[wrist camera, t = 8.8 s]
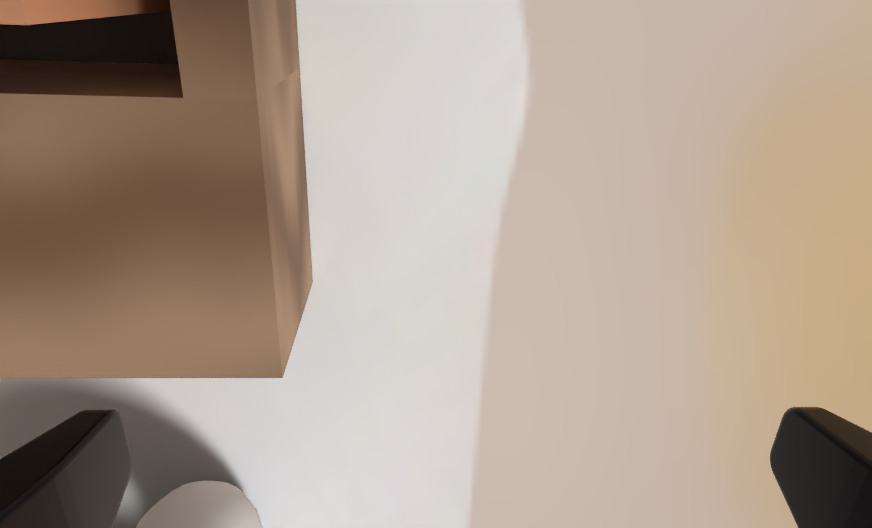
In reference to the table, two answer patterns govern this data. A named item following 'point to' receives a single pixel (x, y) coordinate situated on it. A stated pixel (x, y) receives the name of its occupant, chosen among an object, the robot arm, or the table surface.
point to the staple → (73, 10)
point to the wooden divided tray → (157, 205)
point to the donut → (202, 508)
